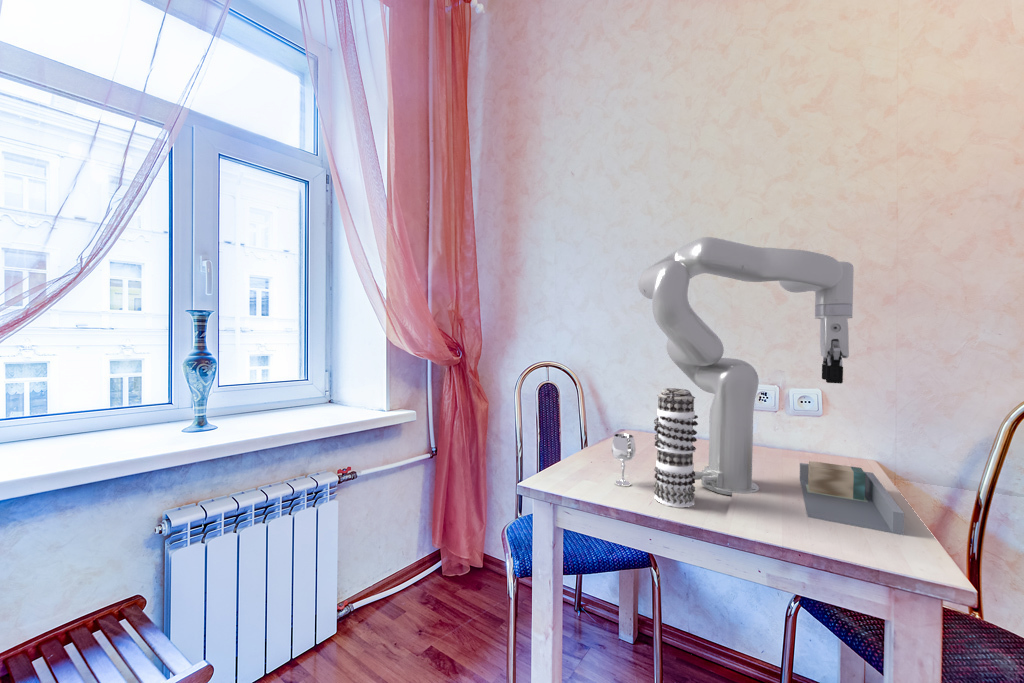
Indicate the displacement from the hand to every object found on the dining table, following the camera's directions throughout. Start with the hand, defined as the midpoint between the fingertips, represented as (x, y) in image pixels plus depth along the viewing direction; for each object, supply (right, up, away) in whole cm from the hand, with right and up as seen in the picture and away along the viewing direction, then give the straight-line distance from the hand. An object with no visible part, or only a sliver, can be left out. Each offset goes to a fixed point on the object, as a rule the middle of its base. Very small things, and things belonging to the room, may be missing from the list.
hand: (831, 381), depth 107 cm
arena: (-7, -26, -13) cm, 30 cm away
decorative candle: (-43, -26, -11) cm, 52 cm away
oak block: (-4, -25, -7) cm, 27 cm away
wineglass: (-52, -26, 0) cm, 58 cm away
